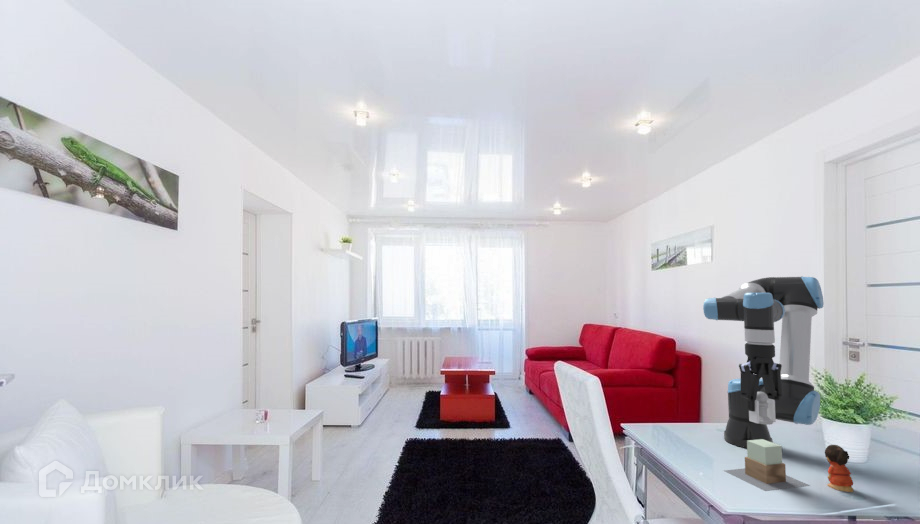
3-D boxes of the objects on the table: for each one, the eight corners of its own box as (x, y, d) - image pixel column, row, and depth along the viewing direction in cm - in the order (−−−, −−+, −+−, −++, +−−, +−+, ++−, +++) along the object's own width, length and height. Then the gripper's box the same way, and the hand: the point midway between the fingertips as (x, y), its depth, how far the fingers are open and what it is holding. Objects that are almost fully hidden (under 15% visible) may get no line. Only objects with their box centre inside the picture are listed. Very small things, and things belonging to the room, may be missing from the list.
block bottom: (763, 471, 133) (763, 455, 133) (785, 481, 126) (785, 463, 126) (745, 473, 131) (744, 456, 131) (766, 483, 124) (766, 465, 124)
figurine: (860, 493, 120) (858, 448, 121) (846, 495, 118) (844, 450, 119) (835, 483, 126) (833, 441, 127) (821, 485, 124) (819, 442, 125)
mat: (765, 467, 137) (765, 466, 137) (810, 486, 123) (810, 485, 123) (723, 471, 133) (723, 470, 133) (765, 492, 120) (765, 490, 120)
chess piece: (747, 420, 131) (746, 390, 132) (760, 419, 133) (759, 389, 134) (764, 425, 126) (763, 394, 127) (777, 424, 128) (776, 393, 129)
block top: (763, 455, 132) (762, 439, 133) (782, 463, 126) (781, 445, 127) (747, 457, 131) (746, 440, 131) (765, 465, 125) (765, 447, 125)
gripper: (772, 341, 137) (775, 416, 135) (724, 342, 133) (726, 419, 131) (795, 344, 130) (798, 423, 128) (745, 345, 125) (748, 427, 124)
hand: (762, 421), depth 130 cm, fingers closed on chess piece, 5 cm apart
